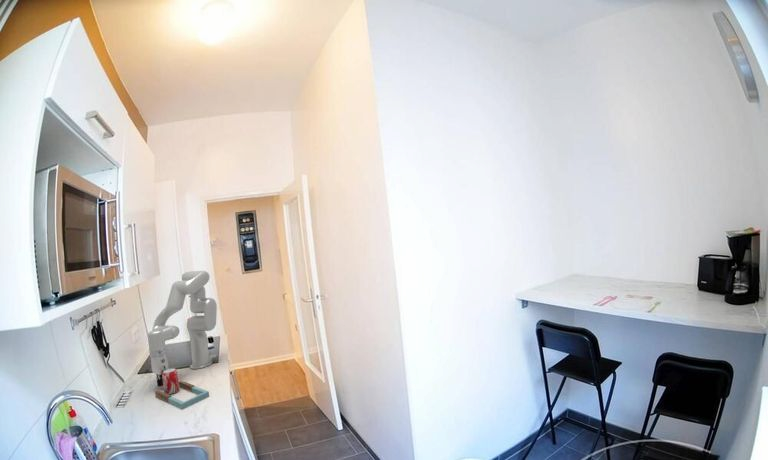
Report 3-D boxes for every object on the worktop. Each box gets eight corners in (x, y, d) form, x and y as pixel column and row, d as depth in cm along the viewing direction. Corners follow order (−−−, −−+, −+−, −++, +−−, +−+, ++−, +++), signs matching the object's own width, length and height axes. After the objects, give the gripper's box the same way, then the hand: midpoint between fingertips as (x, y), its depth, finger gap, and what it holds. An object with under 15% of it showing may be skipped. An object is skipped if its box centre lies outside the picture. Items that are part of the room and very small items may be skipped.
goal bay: (195, 390, 185) (194, 386, 185) (209, 396, 178) (208, 391, 178) (168, 402, 174) (168, 398, 174) (182, 409, 167) (181, 404, 167)
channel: (181, 385, 193) (181, 380, 193) (195, 390, 185) (194, 385, 185) (155, 397, 182) (155, 391, 182) (168, 402, 174) (168, 397, 174)
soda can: (160, 395, 184) (158, 372, 183) (173, 388, 190) (170, 367, 190) (170, 396, 181) (168, 373, 181) (182, 389, 188) (180, 367, 188)
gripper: (171, 352, 190) (175, 385, 191) (159, 348, 199) (162, 380, 199) (156, 357, 184) (160, 391, 185) (144, 353, 193) (147, 385, 193)
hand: (161, 385), depth 192 cm, fingers closed
